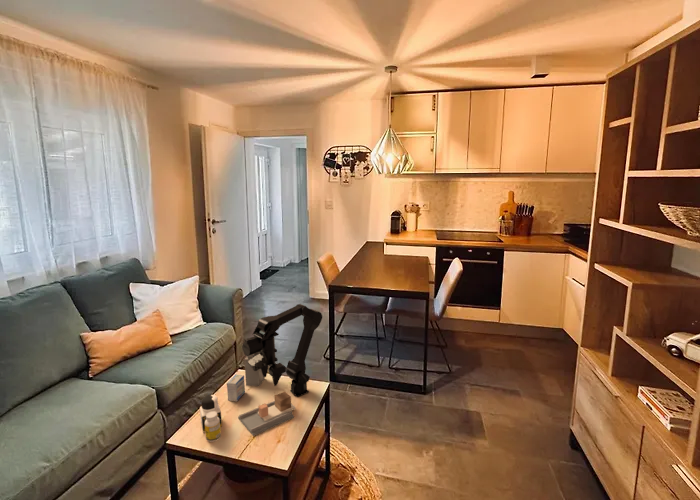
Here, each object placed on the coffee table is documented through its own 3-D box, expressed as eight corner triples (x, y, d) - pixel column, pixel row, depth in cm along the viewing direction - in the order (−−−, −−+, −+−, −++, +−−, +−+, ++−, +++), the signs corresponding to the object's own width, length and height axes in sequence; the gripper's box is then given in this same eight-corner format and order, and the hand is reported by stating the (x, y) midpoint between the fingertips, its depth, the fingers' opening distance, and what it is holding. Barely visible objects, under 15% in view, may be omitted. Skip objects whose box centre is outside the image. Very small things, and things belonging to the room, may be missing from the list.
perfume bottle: (251, 378, 186) (249, 344, 183) (264, 379, 185) (263, 344, 182) (246, 385, 180) (244, 350, 177) (259, 386, 179) (257, 351, 176)
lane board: (277, 402, 166) (277, 397, 165) (293, 417, 155) (293, 412, 155) (238, 418, 155) (238, 413, 154) (253, 436, 144) (252, 431, 144)
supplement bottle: (205, 434, 145) (203, 411, 143) (220, 431, 147) (218, 408, 145) (206, 443, 140) (204, 420, 138) (221, 440, 142) (219, 416, 140)
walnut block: (285, 401, 163) (284, 391, 162) (291, 407, 159) (290, 396, 158) (274, 406, 160) (274, 395, 159) (280, 411, 156) (280, 400, 155)
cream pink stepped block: (287, 401, 165) (286, 391, 164) (295, 408, 160) (295, 398, 159) (256, 414, 156) (255, 403, 155) (264, 422, 151) (263, 411, 150)
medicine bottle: (203, 432, 146) (200, 404, 144) (200, 422, 152) (198, 395, 150) (222, 427, 149) (220, 399, 147) (219, 417, 156) (217, 390, 153)
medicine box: (236, 401, 166) (235, 384, 165) (227, 400, 167) (226, 382, 166) (245, 392, 174) (244, 375, 172) (236, 391, 175) (235, 374, 173)
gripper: (240, 345, 160) (242, 379, 163) (261, 361, 146) (263, 398, 149) (263, 338, 167) (266, 370, 170) (285, 352, 153) (287, 387, 156)
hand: (270, 381), depth 161 cm, fingers open, 9 cm apart
